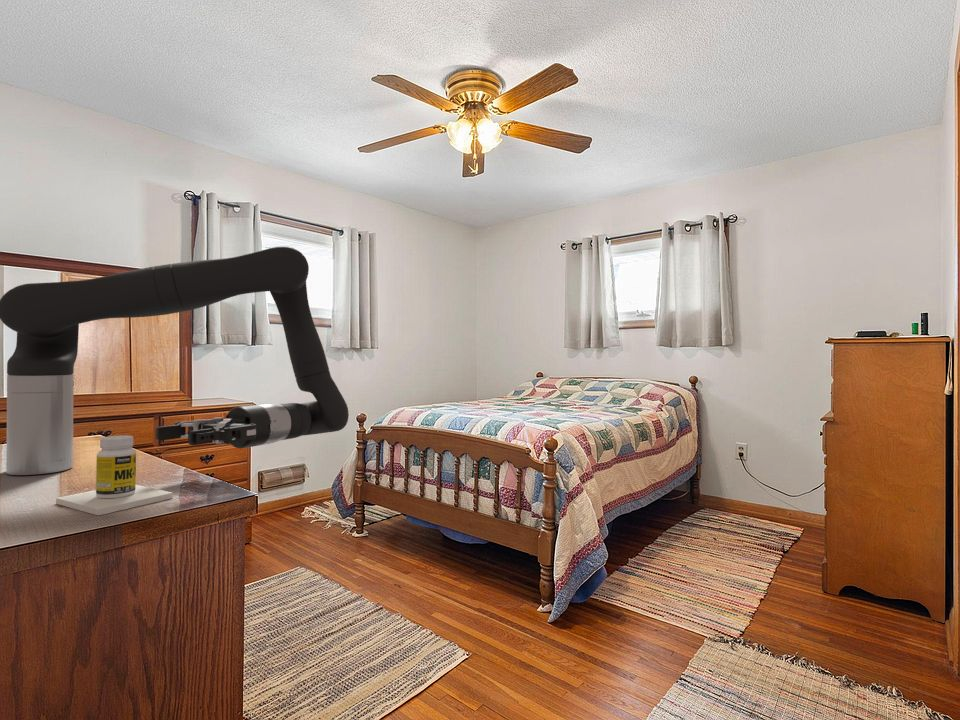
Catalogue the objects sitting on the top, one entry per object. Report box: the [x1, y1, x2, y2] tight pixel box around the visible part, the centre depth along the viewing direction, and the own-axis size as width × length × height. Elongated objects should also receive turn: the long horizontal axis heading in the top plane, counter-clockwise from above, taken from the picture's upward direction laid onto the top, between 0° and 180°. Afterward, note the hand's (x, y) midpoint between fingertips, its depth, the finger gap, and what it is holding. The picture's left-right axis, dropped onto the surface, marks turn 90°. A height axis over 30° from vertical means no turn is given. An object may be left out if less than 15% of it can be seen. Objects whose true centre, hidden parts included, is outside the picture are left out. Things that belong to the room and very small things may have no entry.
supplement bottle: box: [95, 434, 137, 498], centre depth 77 cm, size 5×5×8 cm
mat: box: [55, 484, 174, 516], centre depth 77 cm, size 11×10×1 cm
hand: (172, 436), depth 84 cm, fingers open, 8 cm apart
